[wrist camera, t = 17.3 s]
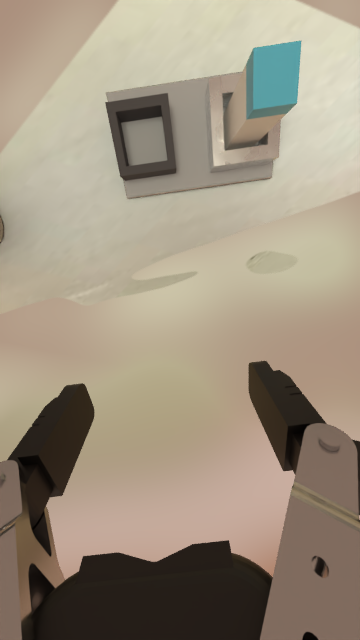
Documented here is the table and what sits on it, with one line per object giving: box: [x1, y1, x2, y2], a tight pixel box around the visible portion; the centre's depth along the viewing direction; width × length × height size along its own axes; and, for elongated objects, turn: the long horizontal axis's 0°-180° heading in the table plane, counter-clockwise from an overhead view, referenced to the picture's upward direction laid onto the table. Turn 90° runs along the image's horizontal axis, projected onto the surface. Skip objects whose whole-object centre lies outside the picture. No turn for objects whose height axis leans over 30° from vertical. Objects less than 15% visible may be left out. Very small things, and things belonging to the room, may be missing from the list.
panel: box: [106, 72, 273, 199], centre depth 30 cm, size 22×12×1 cm, turn 97°
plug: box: [223, 41, 301, 151], centre depth 24 cm, size 4×4×12 cm
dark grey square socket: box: [105, 93, 176, 181], centre depth 29 cm, size 8×8×3 cm
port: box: [205, 73, 280, 173], centre depth 28 cm, size 9×9×4 cm
